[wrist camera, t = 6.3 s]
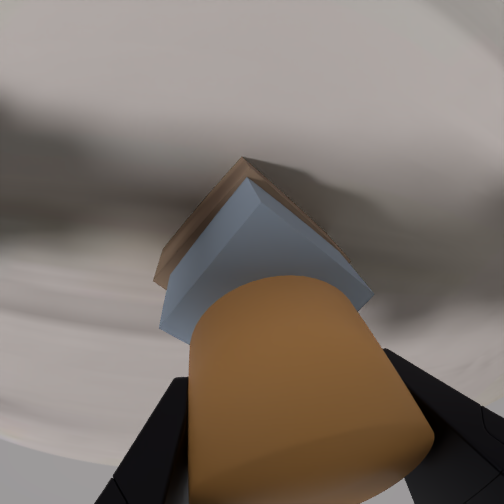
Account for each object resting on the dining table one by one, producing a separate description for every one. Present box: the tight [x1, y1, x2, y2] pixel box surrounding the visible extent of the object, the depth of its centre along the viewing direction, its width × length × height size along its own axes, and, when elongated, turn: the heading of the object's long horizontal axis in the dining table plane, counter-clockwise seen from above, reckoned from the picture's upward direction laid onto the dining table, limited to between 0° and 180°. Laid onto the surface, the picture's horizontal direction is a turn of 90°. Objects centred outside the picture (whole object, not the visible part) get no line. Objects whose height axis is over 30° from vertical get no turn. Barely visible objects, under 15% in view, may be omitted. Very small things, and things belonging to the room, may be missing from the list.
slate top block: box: [159, 177, 374, 345], centre depth 11 cm, size 5×5×4 cm
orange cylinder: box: [188, 275, 434, 504], centre depth 7 cm, size 5×5×4 cm
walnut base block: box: [153, 157, 351, 290], centre depth 15 cm, size 6×6×4 cm
